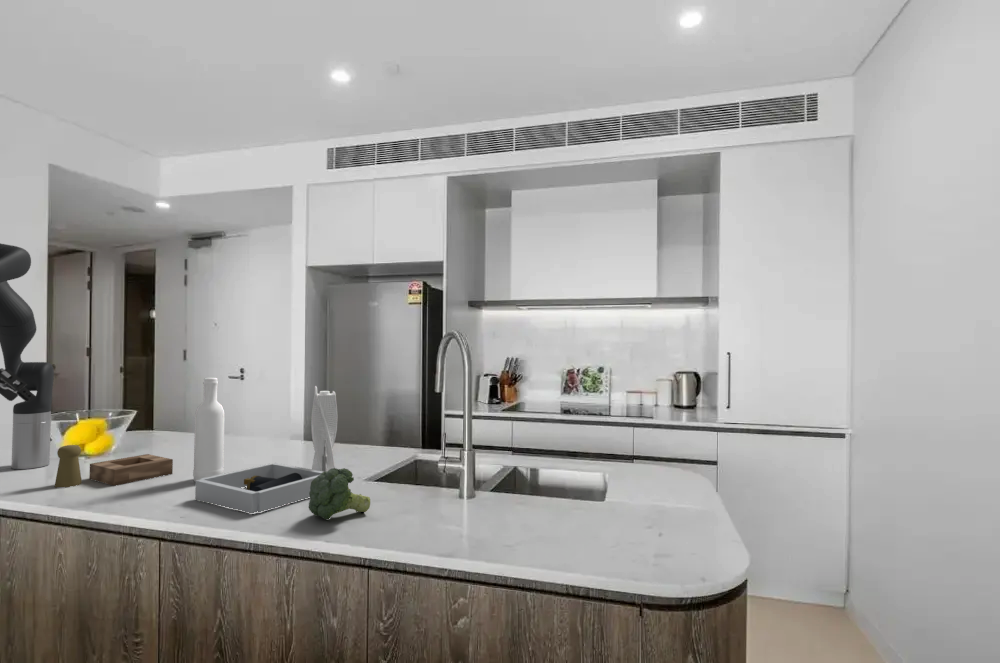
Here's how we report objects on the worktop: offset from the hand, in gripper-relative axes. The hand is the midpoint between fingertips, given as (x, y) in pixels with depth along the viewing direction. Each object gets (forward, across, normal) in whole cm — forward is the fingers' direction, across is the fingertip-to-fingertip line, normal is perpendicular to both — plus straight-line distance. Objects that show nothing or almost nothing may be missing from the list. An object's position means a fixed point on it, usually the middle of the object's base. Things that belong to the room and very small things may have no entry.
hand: (22, 399), depth 142 cm
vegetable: (+36, -85, +1) cm, 92 cm away
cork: (+26, 0, +9) cm, 28 cm away
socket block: (+35, -6, -1) cm, 36 cm away
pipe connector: (+39, -57, -3) cm, 69 cm away
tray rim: (+39, -56, -3) cm, 68 cm away
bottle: (+41, -28, -6) cm, 51 cm away
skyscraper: (+52, -59, -17) cm, 80 cm away
